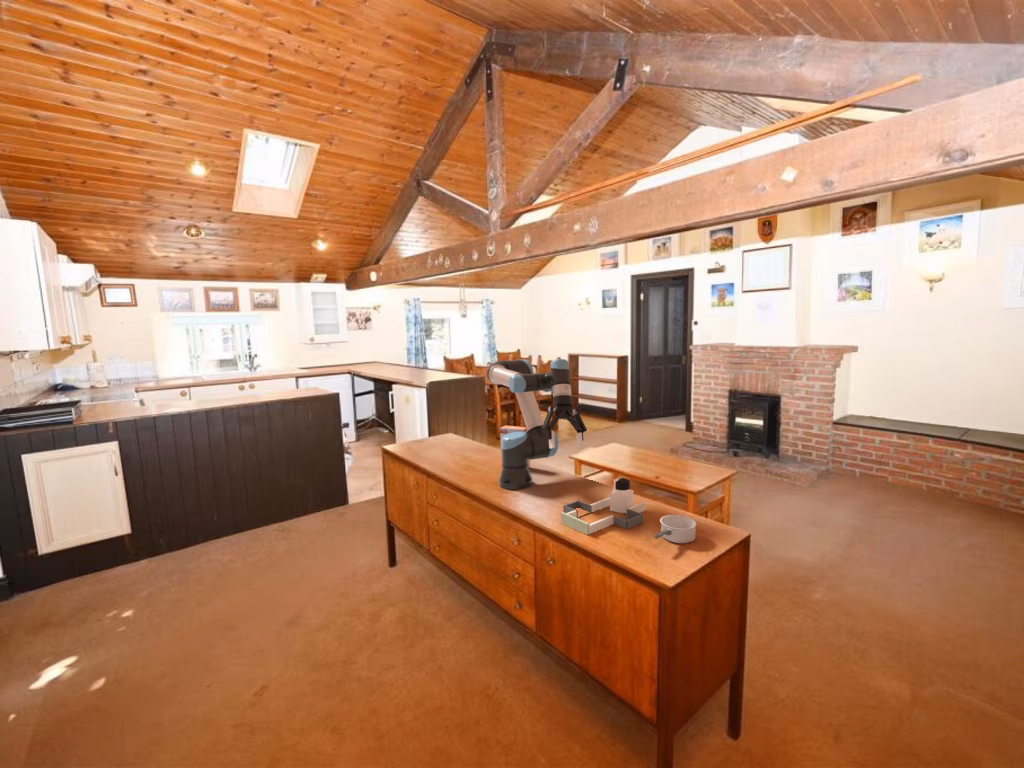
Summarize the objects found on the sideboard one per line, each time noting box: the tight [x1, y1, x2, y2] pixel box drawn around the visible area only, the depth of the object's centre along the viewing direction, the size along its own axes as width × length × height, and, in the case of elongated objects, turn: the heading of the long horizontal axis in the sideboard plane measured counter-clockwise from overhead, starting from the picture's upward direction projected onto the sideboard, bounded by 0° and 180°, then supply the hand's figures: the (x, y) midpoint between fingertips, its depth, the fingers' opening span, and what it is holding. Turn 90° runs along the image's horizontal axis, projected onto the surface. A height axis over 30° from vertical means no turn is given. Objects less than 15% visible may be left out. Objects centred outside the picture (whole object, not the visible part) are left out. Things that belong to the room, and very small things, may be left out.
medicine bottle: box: [609, 477, 634, 515], centre depth 176 cm, size 7×7×12 cm
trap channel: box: [562, 496, 647, 535], centre depth 171 cm, size 31×25×3 cm
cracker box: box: [499, 425, 531, 469], centre depth 235 cm, size 14×6×21 cm, turn 58°
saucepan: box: [654, 514, 698, 544], centre depth 149 cm, size 12×20×6 cm, turn 133°
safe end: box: [560, 511, 590, 536], centre depth 161 cm, size 1×13×4 cm, turn 37°
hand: (566, 448), depth 180 cm, fingers open, 13 cm apart
